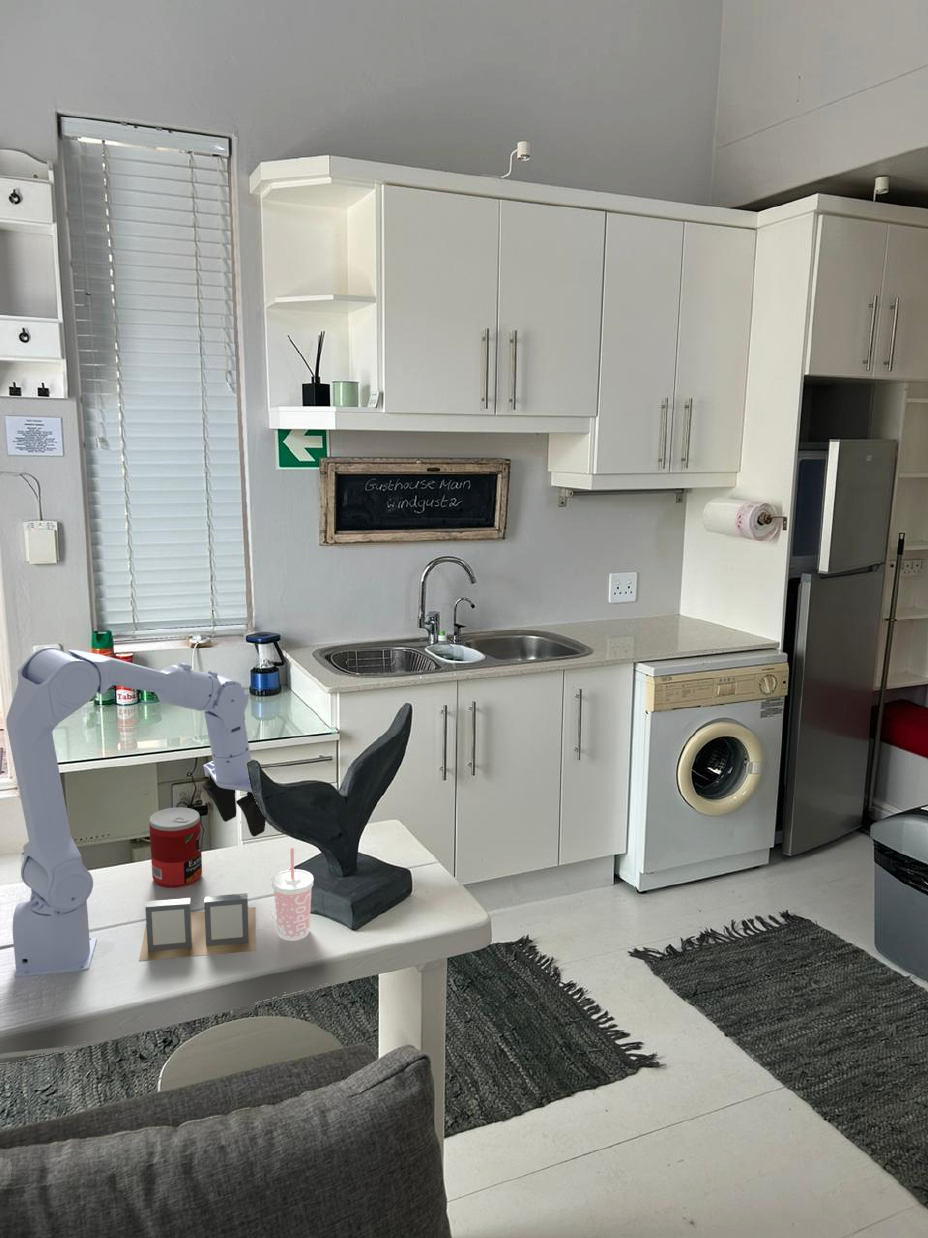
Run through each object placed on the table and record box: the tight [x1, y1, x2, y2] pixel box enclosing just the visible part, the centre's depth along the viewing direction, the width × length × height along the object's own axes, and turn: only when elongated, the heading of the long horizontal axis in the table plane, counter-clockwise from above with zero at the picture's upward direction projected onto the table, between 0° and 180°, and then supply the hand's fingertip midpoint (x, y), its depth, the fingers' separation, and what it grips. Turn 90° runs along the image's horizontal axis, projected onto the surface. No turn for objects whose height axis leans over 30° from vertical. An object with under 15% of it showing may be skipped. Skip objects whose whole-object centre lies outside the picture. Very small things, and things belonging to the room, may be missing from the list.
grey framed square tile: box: [144, 897, 192, 952], centre depth 138 cm, size 6×2×7 cm, turn 102°
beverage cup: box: [271, 846, 315, 942], centre depth 142 cm, size 6×6×14 cm
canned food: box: [148, 806, 203, 889], centre depth 158 cm, size 8×8×11 cm
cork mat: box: [138, 907, 257, 962], centre depth 143 cm, size 16×12×1 cm
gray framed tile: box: [203, 892, 249, 946], centre depth 140 cm, size 6×2×7 cm, turn 102°
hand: (243, 826), depth 154 cm, fingers open, 7 cm apart
